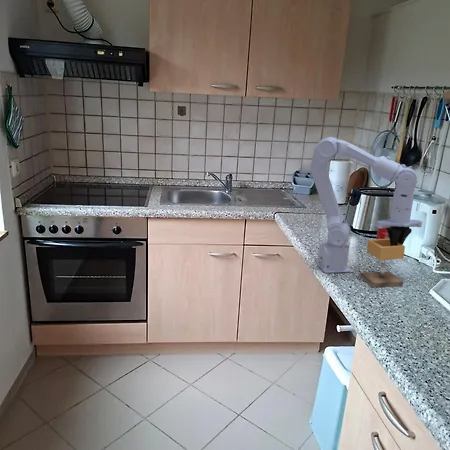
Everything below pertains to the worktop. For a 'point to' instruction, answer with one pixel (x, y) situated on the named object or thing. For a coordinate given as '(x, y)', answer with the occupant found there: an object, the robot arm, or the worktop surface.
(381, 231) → the soda can
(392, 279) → the board
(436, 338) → the worktop surface
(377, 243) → the orange open box
